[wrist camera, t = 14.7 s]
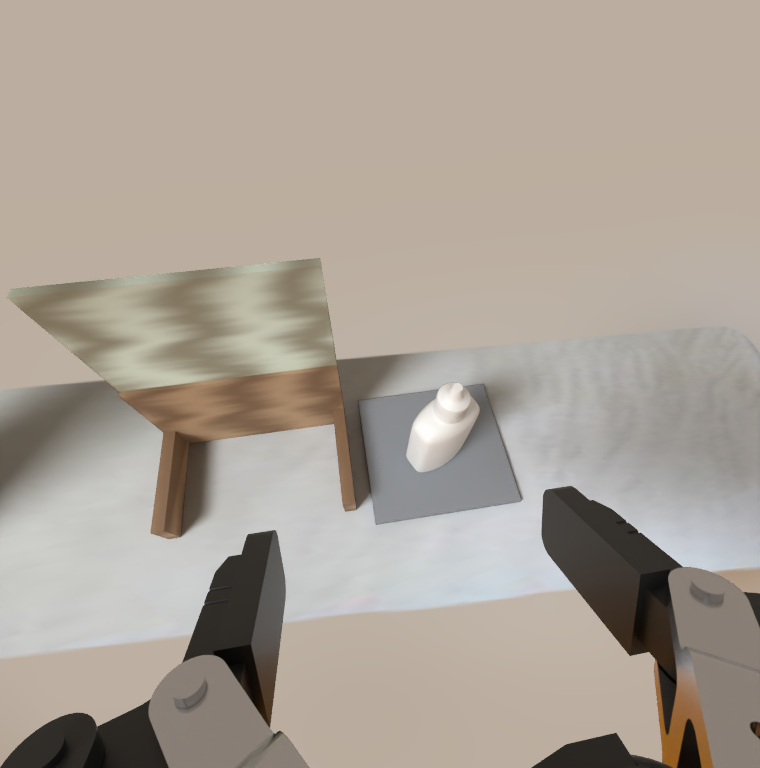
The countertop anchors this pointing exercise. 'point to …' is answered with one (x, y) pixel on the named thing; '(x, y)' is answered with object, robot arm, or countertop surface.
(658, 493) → the countertop surface
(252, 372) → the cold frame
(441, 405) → the eye dropper bottle
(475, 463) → the slate mat
